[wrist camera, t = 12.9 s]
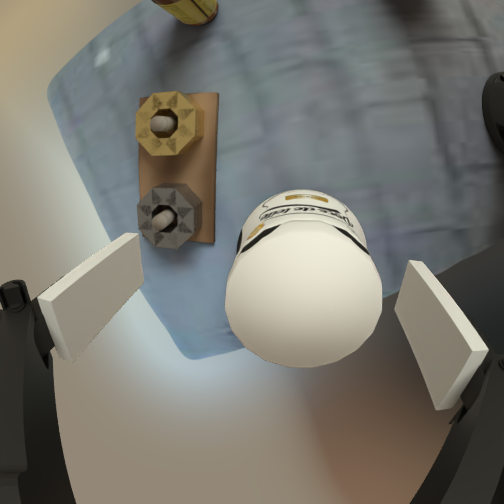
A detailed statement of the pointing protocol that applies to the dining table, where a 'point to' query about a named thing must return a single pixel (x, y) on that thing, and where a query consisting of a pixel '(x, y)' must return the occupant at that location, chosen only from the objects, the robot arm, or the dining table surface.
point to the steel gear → (181, 203)
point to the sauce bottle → (190, 10)
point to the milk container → (303, 281)
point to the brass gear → (188, 123)
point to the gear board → (185, 167)
